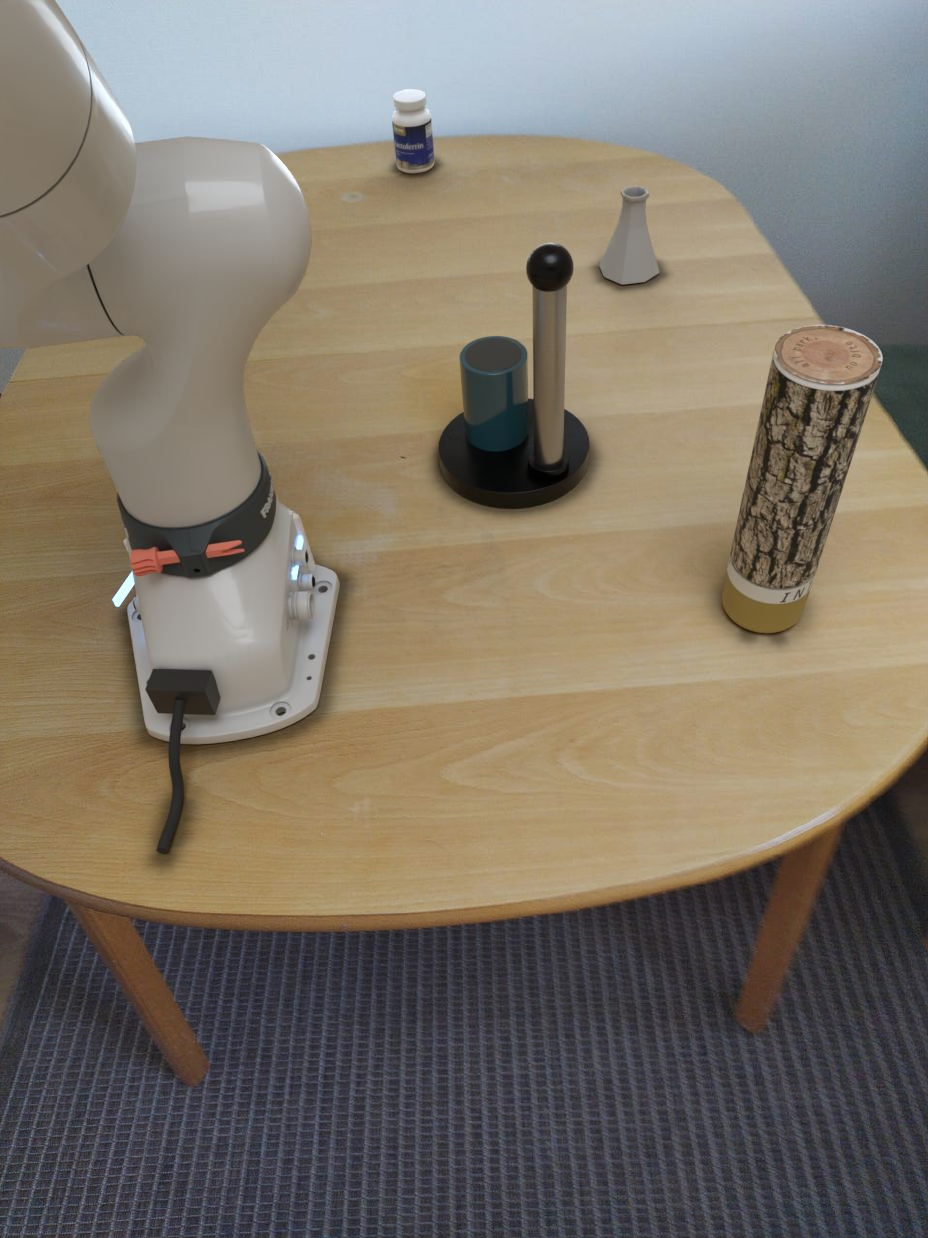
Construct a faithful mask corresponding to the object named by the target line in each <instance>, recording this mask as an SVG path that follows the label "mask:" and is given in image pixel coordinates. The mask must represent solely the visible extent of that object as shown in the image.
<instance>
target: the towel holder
mask: <svg viewBox="0 0 928 1238" xmlns="http://www.w3.org/2000/svg"><path fill="white" fill-rule="evenodd" d="M574 265H575V264H574V259H573V257H572V255H571V253H570V252H569V250H568V249H567V248H566V246H565V247H564V246H563V245H562V244H559V243H556V242H546V243H545V242H544V243H541V244H539V245H538V246H536V247H535V248H534V249H533V250H532V251H531V253H530V254H529V256H528V258H527V261H526V265H525V266H526V267H525V272H526V277H527V279H528V282H529V283H530V285H531V286H532V380H533V381H532V385H533V386H532V388H533V389H532V390H533V391H532V395H533V396H532V397H533V398H529V397H528V425H529V432H528V435H527V438H526V439H525V440H524V441H523V442H522V443H521V444H520V445H518V446H517V447H515V448H512V449H510V450H506V451H499V452H492V451H485V450H481V449H478V448H476V447H475V446H473V445H472V444H470V442H469V441H468V440H467V438H466V435H465V424H464V411H462V412H461V413H459V414H457V415H456V416H455V417H454V418H453V419H451V420H450V422H448V424H447V425H446V426H445V428H444V429H443V431H442V433H441V435H440V437H439V440H438V458H439V467H440V472H441V475H442V477H443V479H444V480H445V482H446V483H447V484H448V486H449V487H450V488H451V489H452V490H453V491H454V492H455V493H456V494H458V495H459V496H461V497H463V498H464V499H466V500H468V501H470V502H473V503H476V504H479V505H481V506H485V507H490V508H496V509H506V510H507V509H508V510H513V509H515V510H516V509H527V508H533V507H537V506H542V505H545V504H548V503H550V502H553V501H555V500H557V499H560V498H561V497H563V496H565V495H567V494H568V493H570V492H571V491H572V490H573V489H574V488H576V486H577V485H579V483H580V482H581V481H582V480H583V478H584V476H585V475H586V472H587V470H588V466H589V459H590V438H589V437H590V436H589V434H588V431H587V429H586V427H585V425H584V424H583V423H582V421H581V420H580V419H579V418H578V417H577V416H576V415H574V413H572V412H571V411H569V410H568V409H566V408H565V397H566V396H565V393H566V391H565V390H566V389H565V388H566V352H567V351H566V350H567V349H566V346H567V344H566V343H567V305H568V304H567V301H568V300H567V299H568V298H567V297H568V285H569V283H570V281H571V280H572V277H573V275H574V270H575V269H574V268H575V266H574Z"/></svg>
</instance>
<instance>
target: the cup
mask: <svg viewBox="0 0 928 1238" xmlns="http://www.w3.org/2000/svg"><path fill="white" fill-rule="evenodd" d="M528 357H529V355H528V349H527V348H526V345H524V344H523V343H522V342H521V341H520V340H518V339H515V338H513V337H509V336H504V335H489V336H483V337H479V338H476V339H475V340H472V341H470V342H468V343H467V344H466V345H464V346H463V347H462V349H461V350H460V352H459V370H460V383H461V395H462V397H461V399H462V409H463V410H462V412H464V424H465V435H466V438H467V440H468V441H469V442H470V444H472V445H473V446H475V447H476V448H478V449H481V450H485V451H492V452H499V451H506V450H510V449H512V448H515V447H517V446H518V445H520V444H521V443H522V442H523V441H524V440H525V439H526V438H527V435H528V432H529V425H528V398H529V362H528V361H529V359H528Z"/></svg>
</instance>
